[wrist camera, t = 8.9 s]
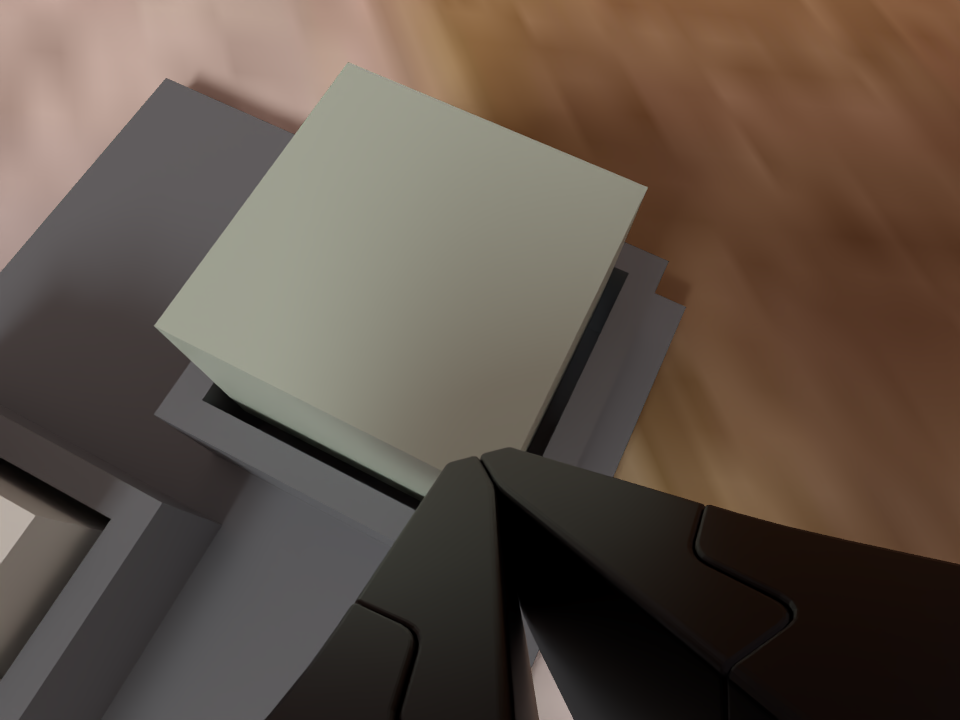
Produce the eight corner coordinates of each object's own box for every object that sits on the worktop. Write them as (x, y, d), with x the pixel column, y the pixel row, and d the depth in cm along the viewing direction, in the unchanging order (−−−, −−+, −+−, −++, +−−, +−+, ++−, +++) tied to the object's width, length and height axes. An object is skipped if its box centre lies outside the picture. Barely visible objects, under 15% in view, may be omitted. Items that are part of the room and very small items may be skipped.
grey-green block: (600, 298, 19) (651, 180, 14) (486, 535, 17) (497, 498, 11) (375, 197, 20) (344, 52, 15) (238, 407, 18) (144, 321, 12)
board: (676, 319, 23) (731, 242, 18) (315, 1159, 15) (248, 1400, 10) (177, 98, 25) (112, -19, 21) (-337, 714, 18) (-619, 748, 13)
